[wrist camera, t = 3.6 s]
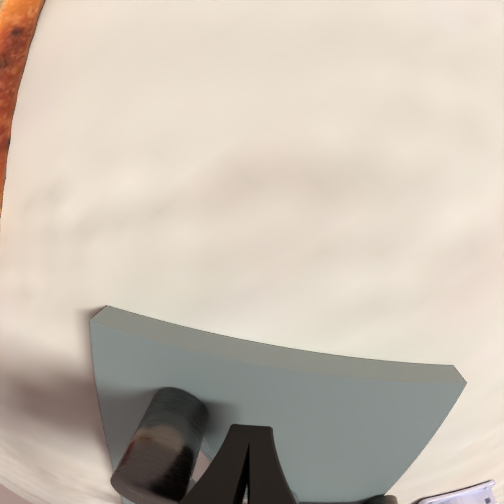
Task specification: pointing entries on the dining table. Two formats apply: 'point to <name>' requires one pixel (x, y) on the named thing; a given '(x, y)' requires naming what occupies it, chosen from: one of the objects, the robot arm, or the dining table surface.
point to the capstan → (172, 452)
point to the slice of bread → (13, 65)
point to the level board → (277, 401)
